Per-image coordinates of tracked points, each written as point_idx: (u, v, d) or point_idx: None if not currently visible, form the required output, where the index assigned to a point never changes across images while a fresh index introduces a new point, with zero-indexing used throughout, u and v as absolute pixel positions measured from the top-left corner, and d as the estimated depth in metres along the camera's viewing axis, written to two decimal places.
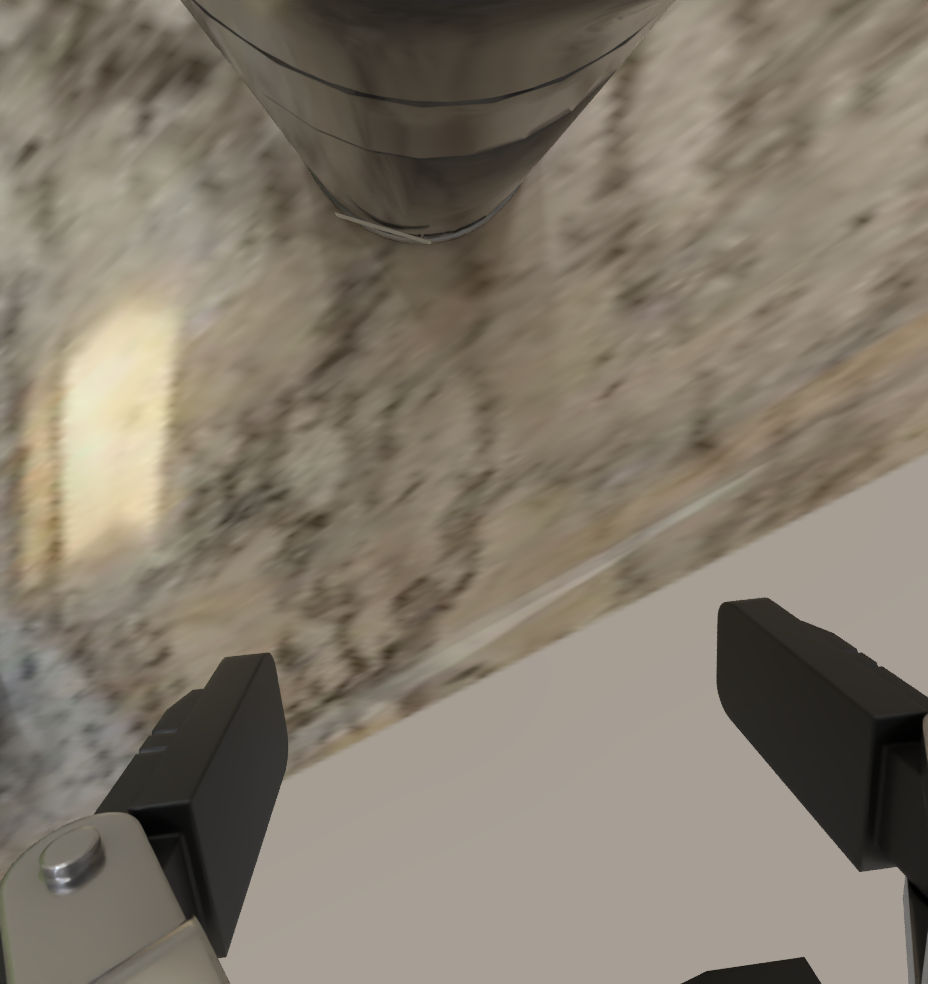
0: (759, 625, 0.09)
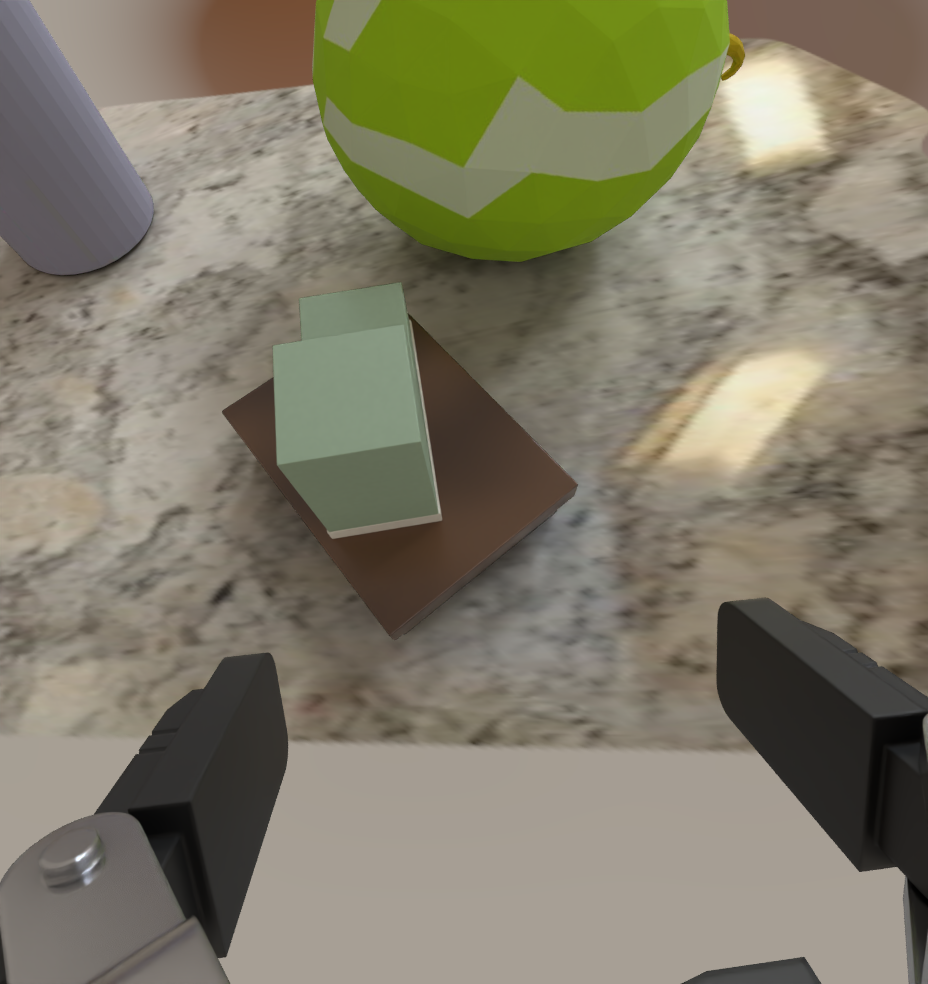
0: (759, 625, 0.09)
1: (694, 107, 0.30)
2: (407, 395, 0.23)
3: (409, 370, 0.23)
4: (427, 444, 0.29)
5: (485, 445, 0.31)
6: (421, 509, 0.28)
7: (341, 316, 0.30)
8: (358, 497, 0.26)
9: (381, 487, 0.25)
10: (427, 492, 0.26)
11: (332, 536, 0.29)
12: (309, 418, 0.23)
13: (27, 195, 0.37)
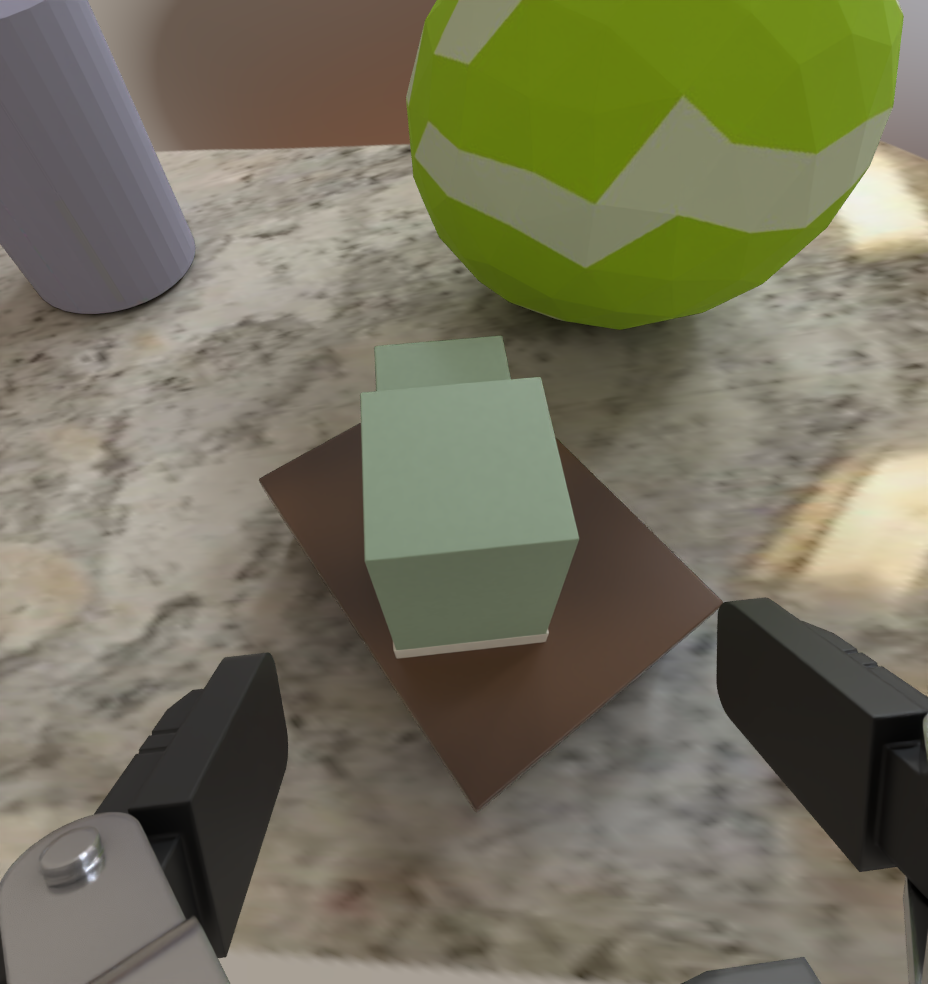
0: (759, 625, 0.09)
1: (861, 160, 0.25)
2: (553, 471, 0.16)
3: (554, 437, 0.17)
4: None
5: (598, 543, 0.24)
6: (528, 627, 0.20)
7: (428, 370, 0.24)
8: (455, 609, 0.18)
9: (492, 598, 0.18)
10: (547, 607, 0.19)
11: (398, 655, 0.22)
12: (413, 496, 0.16)
13: (55, 218, 0.32)
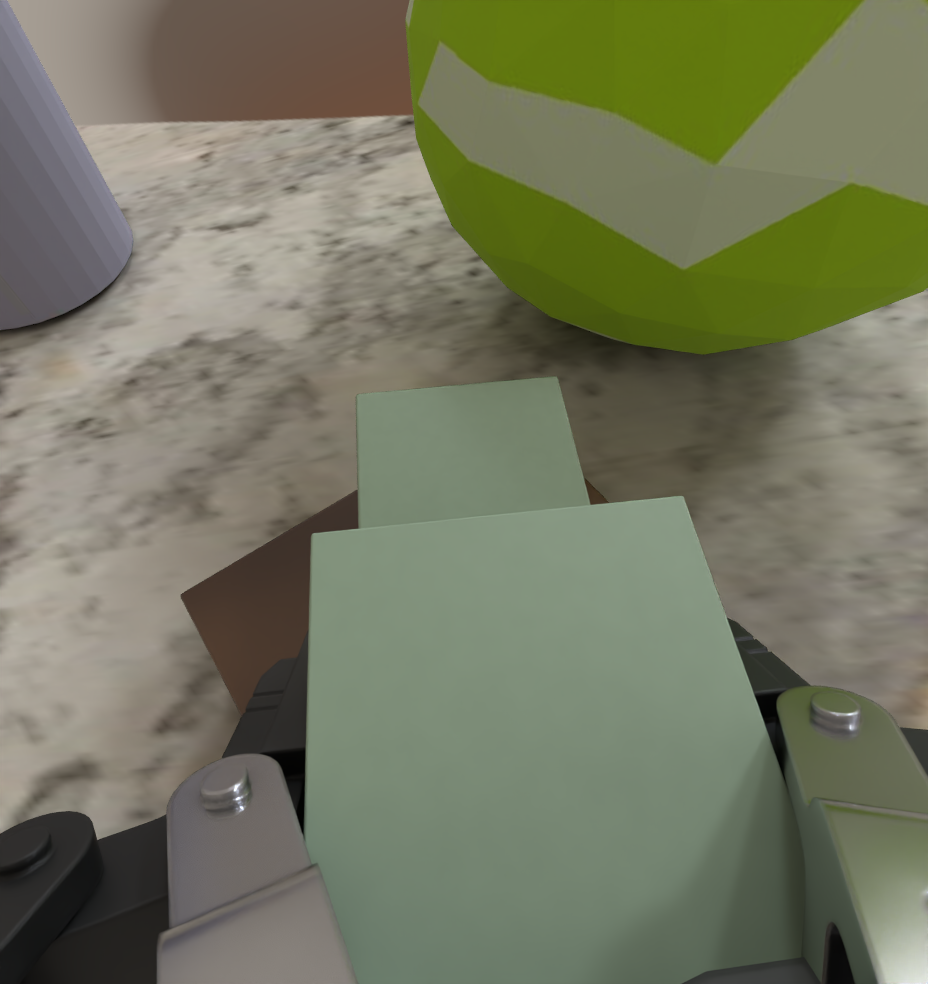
0: None
1: None
2: (750, 746, 0.07)
3: (735, 649, 0.07)
4: None
5: None
6: None
7: (442, 435, 0.15)
8: None
9: None
10: None
11: None
12: (425, 822, 0.06)
13: None
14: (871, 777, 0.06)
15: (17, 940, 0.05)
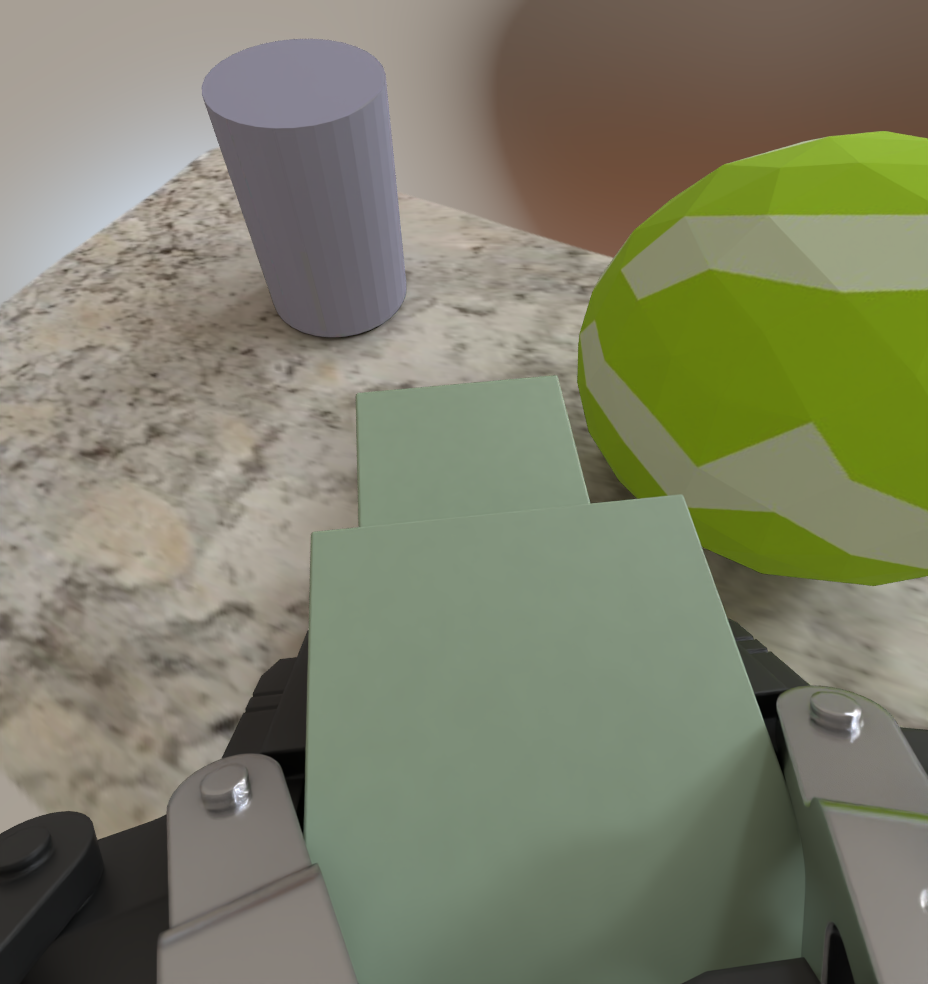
0: None
1: None
2: (750, 745, 0.07)
3: (735, 647, 0.07)
4: None
5: None
6: None
7: (442, 434, 0.15)
8: None
9: None
10: None
11: None
12: (425, 820, 0.06)
13: (297, 262, 0.38)
14: (870, 777, 0.06)
15: (18, 941, 0.05)
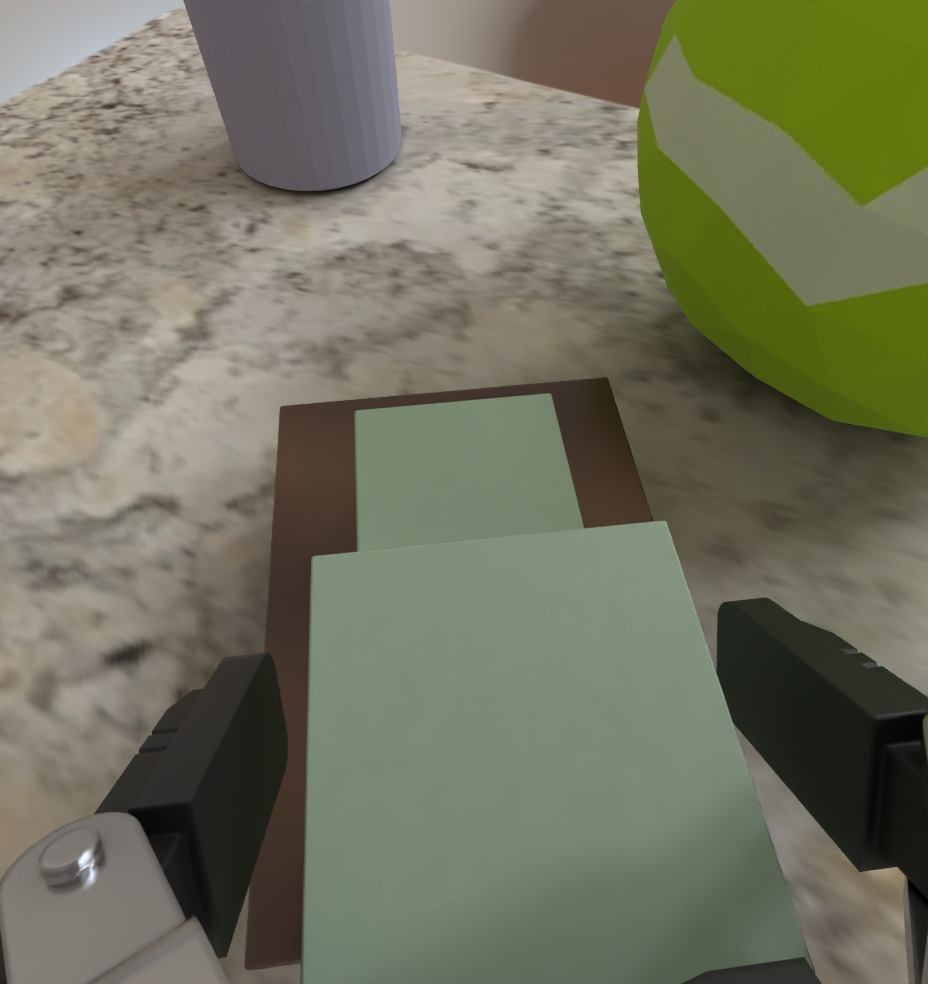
0: (759, 625, 0.09)
1: None
2: (725, 762, 0.07)
3: (713, 669, 0.08)
4: None
5: None
6: None
7: (438, 451, 0.15)
8: None
9: None
10: None
11: None
12: (418, 835, 0.07)
13: (254, 65, 0.29)
14: None
15: None
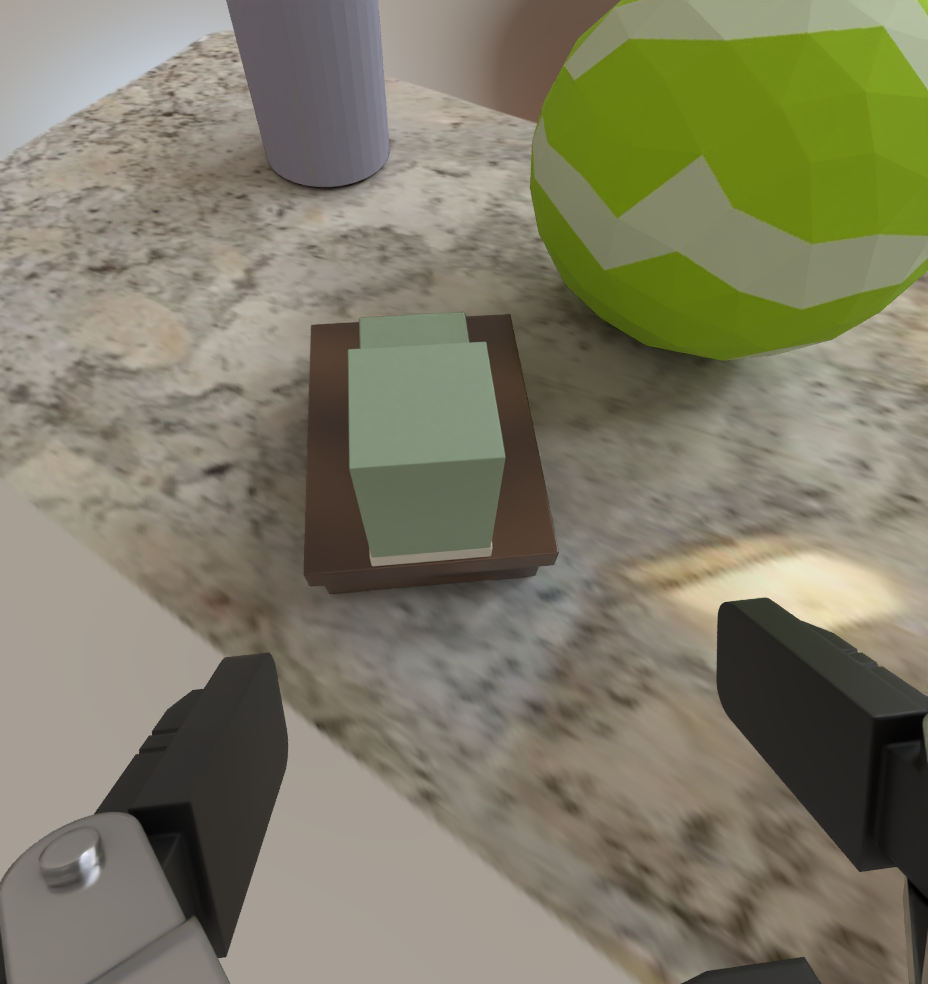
0: (759, 625, 0.09)
1: (876, 271, 0.28)
2: (490, 410, 0.22)
3: (492, 386, 0.22)
4: None
5: None
6: (475, 540, 0.26)
7: (403, 338, 0.29)
8: (417, 517, 0.24)
9: (444, 509, 0.23)
10: (489, 520, 0.25)
11: (373, 563, 0.27)
12: (386, 424, 0.21)
13: (289, 101, 0.42)
14: None
15: None
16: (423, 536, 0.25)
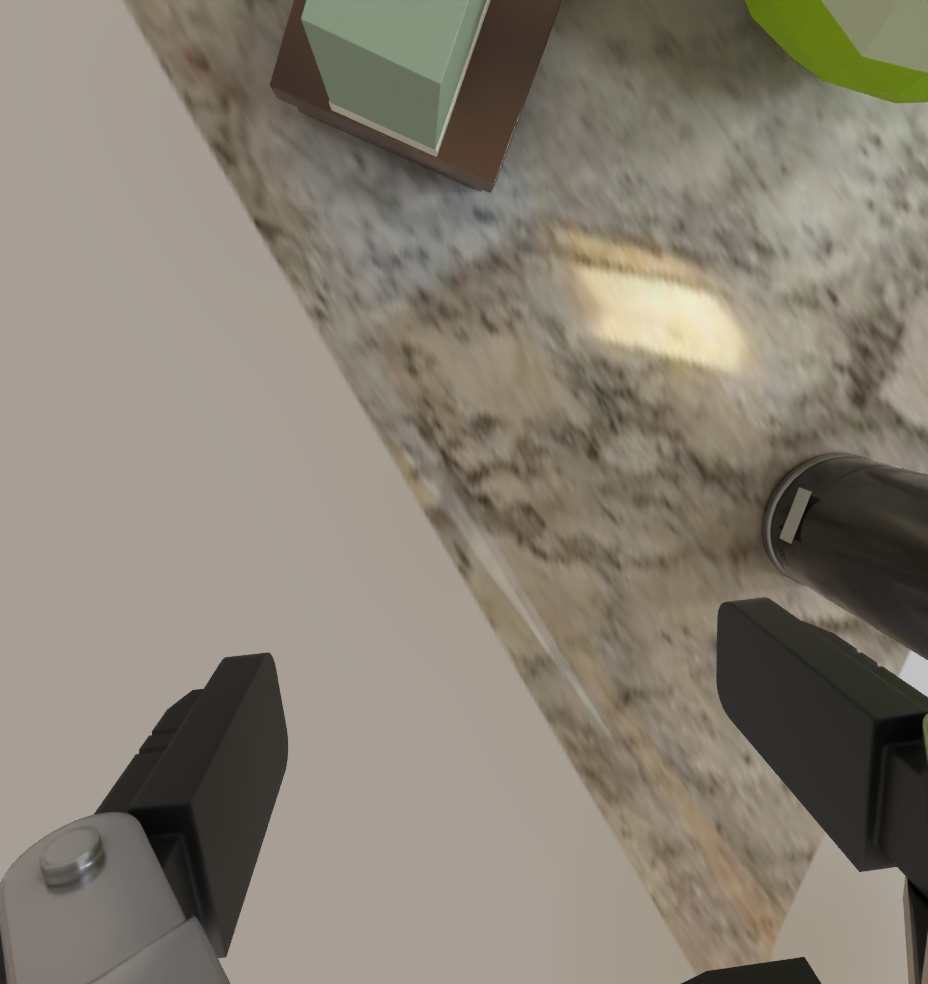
0: (759, 625, 0.09)
1: None
2: (453, 21, 0.22)
3: None
4: (461, 70, 0.28)
5: (489, 72, 0.30)
6: (421, 137, 0.28)
7: None
8: (367, 91, 0.26)
9: (391, 98, 0.25)
10: (431, 127, 0.27)
11: (332, 108, 0.29)
12: None
13: None
14: None
15: None
16: (374, 109, 0.27)
